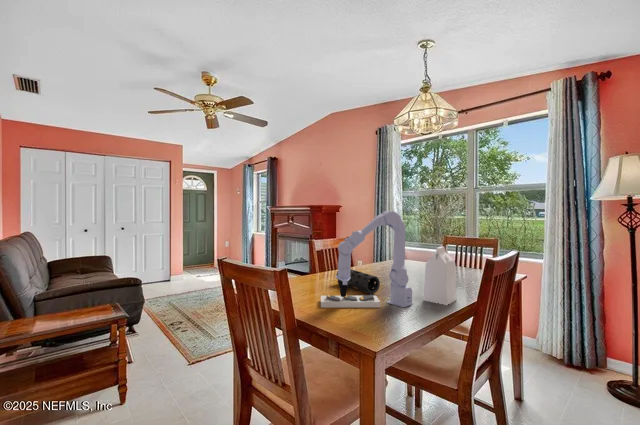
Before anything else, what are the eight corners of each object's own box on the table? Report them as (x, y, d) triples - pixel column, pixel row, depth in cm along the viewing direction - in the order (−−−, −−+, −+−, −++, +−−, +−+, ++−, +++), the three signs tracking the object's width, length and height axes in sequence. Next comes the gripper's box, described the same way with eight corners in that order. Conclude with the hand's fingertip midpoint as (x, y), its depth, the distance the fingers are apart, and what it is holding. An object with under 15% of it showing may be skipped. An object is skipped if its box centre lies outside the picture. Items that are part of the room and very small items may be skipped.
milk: (433, 295, 160) (434, 245, 159) (456, 299, 152) (457, 247, 151) (423, 300, 151) (423, 247, 150) (446, 305, 143) (447, 249, 142)
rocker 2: (372, 296, 146) (371, 293, 146) (374, 298, 142) (373, 296, 142) (360, 299, 146) (359, 297, 146) (361, 302, 142) (360, 299, 142)
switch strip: (376, 300, 150) (376, 295, 150) (380, 307, 140) (380, 301, 140) (320, 300, 150) (320, 295, 150) (320, 307, 140) (320, 301, 140)
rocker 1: (338, 299, 146) (339, 297, 146) (339, 302, 142) (339, 299, 142) (326, 296, 146) (326, 293, 146) (326, 298, 142) (327, 296, 142)
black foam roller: (366, 297, 157) (366, 276, 156) (335, 284, 180) (335, 267, 180) (380, 294, 162) (380, 274, 161) (348, 282, 185) (348, 265, 185)
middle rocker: (355, 299, 146) (356, 296, 146) (356, 301, 142) (357, 299, 142) (343, 296, 146) (343, 294, 146) (343, 299, 142) (344, 296, 142)
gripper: (335, 264, 151) (333, 291, 151) (336, 270, 136) (335, 300, 136) (349, 264, 151) (348, 292, 151) (352, 270, 136) (351, 301, 136)
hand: (343, 296), depth 144 cm, fingers closed, pressing on middle rocker
